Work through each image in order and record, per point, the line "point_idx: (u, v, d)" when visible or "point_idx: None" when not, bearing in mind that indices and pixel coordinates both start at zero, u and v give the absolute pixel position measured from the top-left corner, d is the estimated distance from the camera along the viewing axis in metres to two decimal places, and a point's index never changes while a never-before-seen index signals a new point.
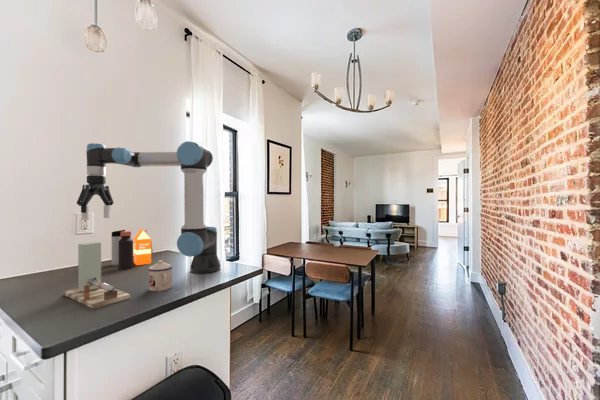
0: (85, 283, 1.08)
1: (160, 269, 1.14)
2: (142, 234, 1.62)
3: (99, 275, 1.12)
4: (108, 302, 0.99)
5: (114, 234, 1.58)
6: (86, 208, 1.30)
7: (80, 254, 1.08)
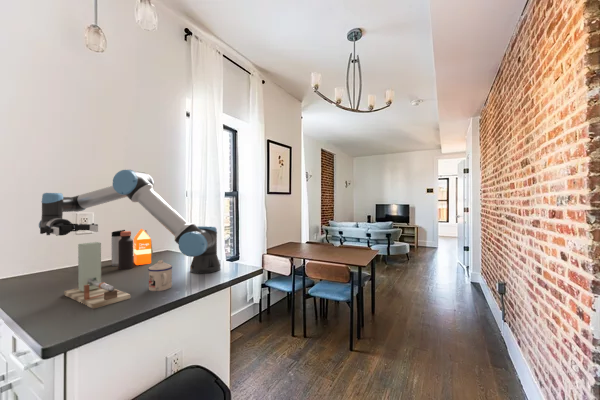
0: (85, 283, 1.08)
1: (160, 269, 1.14)
2: (142, 234, 1.62)
3: (99, 275, 1.12)
4: (108, 302, 0.99)
5: (114, 234, 1.58)
6: (51, 228, 1.14)
7: (80, 254, 1.08)
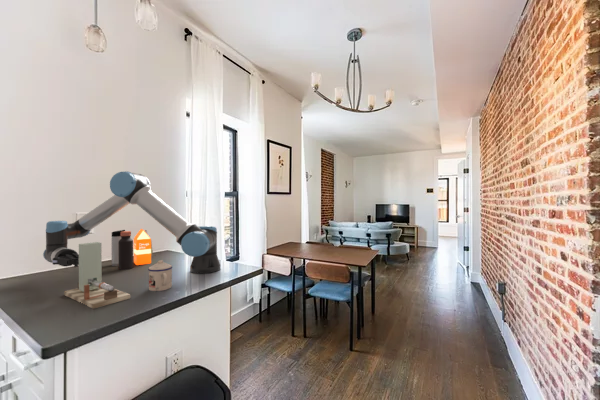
0: (85, 283, 1.07)
1: (160, 269, 1.14)
2: (142, 234, 1.62)
3: (99, 275, 1.11)
4: (108, 302, 0.99)
5: (114, 234, 1.58)
6: None
7: (80, 254, 1.08)
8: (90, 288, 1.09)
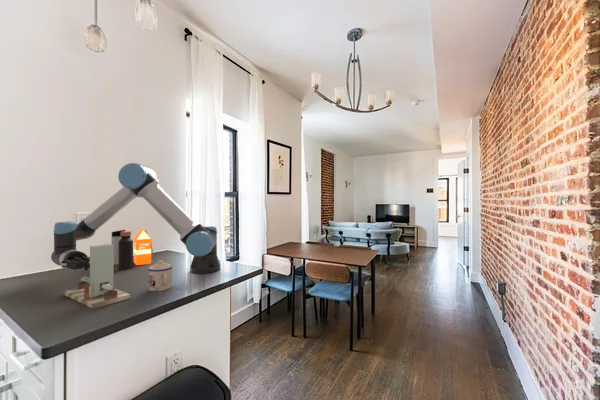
0: (97, 288, 1.02)
1: (160, 269, 1.14)
2: (142, 234, 1.62)
3: (111, 279, 1.06)
4: (108, 302, 0.99)
5: (114, 234, 1.58)
6: None
7: (92, 257, 1.02)
8: (102, 293, 1.03)
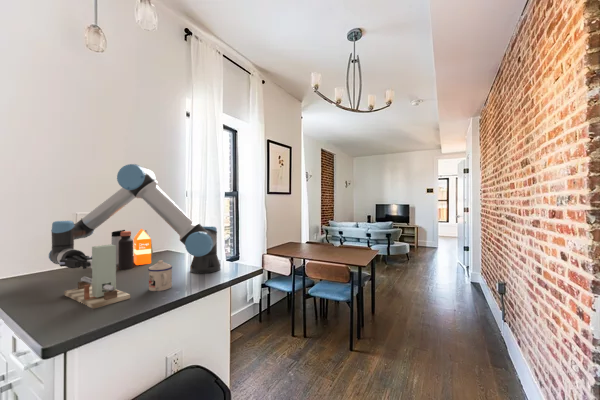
0: (99, 288, 1.01)
1: (160, 269, 1.14)
2: (142, 234, 1.62)
3: (114, 280, 1.05)
4: (108, 302, 0.99)
5: (114, 234, 1.58)
6: (88, 261, 1.09)
7: (94, 257, 1.01)
8: None
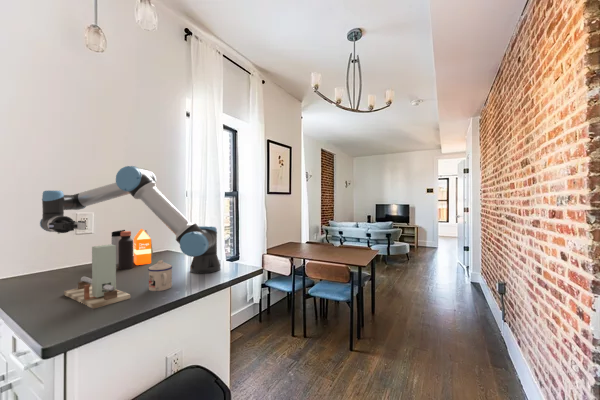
0: (99, 288, 1.01)
1: (160, 269, 1.14)
2: (142, 234, 1.62)
3: (114, 280, 1.05)
4: (108, 302, 0.99)
5: (114, 234, 1.58)
6: (75, 223, 1.16)
7: (94, 257, 1.01)
8: None
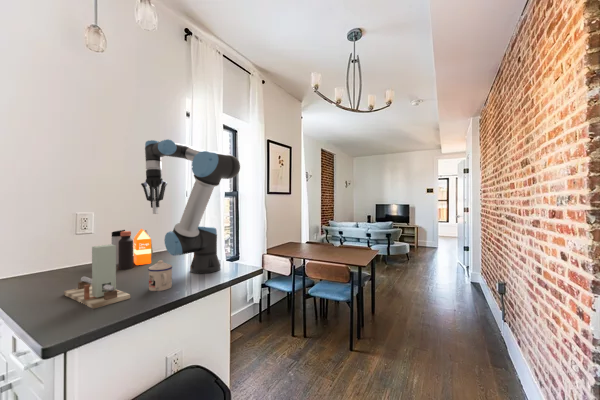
0: (99, 288, 1.01)
1: (160, 269, 1.14)
2: (142, 234, 1.62)
3: (114, 280, 1.05)
4: (108, 302, 0.99)
5: (114, 234, 1.58)
6: None
7: (94, 257, 1.01)
8: None
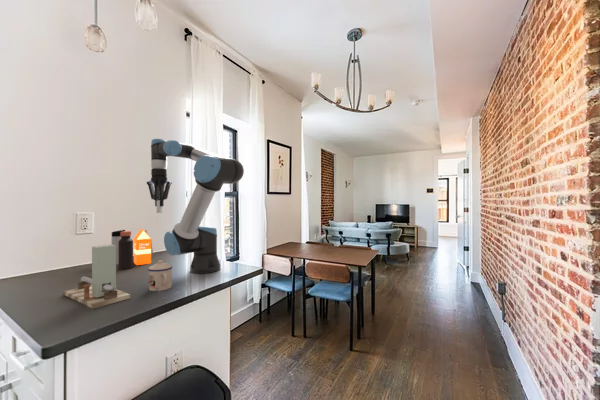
0: (99, 288, 1.01)
1: (160, 269, 1.14)
2: (142, 234, 1.62)
3: (114, 280, 1.05)
4: (108, 302, 0.99)
5: (114, 234, 1.58)
6: (156, 202, 1.48)
7: (94, 257, 1.01)
8: None
